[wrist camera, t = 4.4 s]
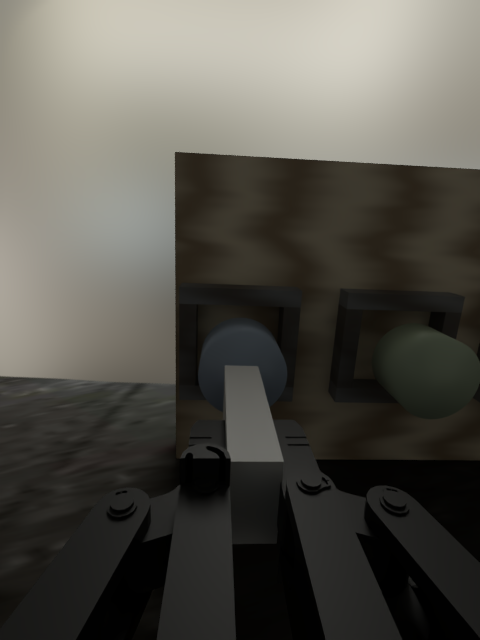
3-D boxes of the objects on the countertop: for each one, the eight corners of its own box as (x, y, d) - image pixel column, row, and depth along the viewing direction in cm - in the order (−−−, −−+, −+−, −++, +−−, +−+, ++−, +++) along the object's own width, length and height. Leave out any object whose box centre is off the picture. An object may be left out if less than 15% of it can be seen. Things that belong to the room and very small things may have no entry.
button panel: (516, 437, 29) (587, 184, 24) (567, 474, 25) (667, 175, 20) (181, 434, 28) (181, 161, 23) (173, 472, 23) (171, 146, 18)
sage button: (437, 393, 21) (451, 324, 20) (471, 419, 18) (490, 340, 17) (366, 392, 21) (377, 322, 20) (389, 418, 18) (403, 338, 17)
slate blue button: (275, 390, 21) (280, 318, 20) (283, 416, 18) (290, 334, 17) (200, 388, 21) (202, 316, 19) (197, 415, 18) (198, 332, 17)
